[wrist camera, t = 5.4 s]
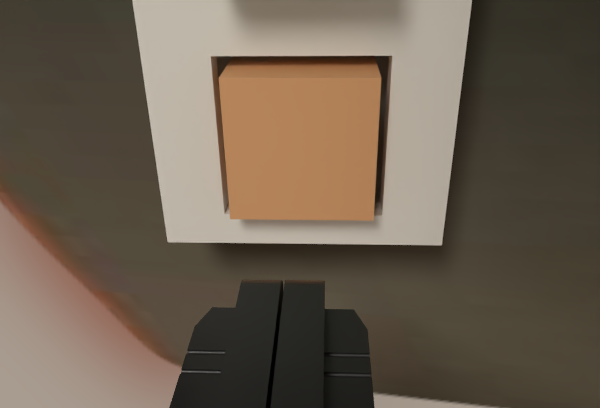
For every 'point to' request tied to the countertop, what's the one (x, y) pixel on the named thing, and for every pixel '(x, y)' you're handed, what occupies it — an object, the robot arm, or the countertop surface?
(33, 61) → the countertop surface
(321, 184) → the terracotta button
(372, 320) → the countertop surface
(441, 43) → the white button panel
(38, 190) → the countertop surface
